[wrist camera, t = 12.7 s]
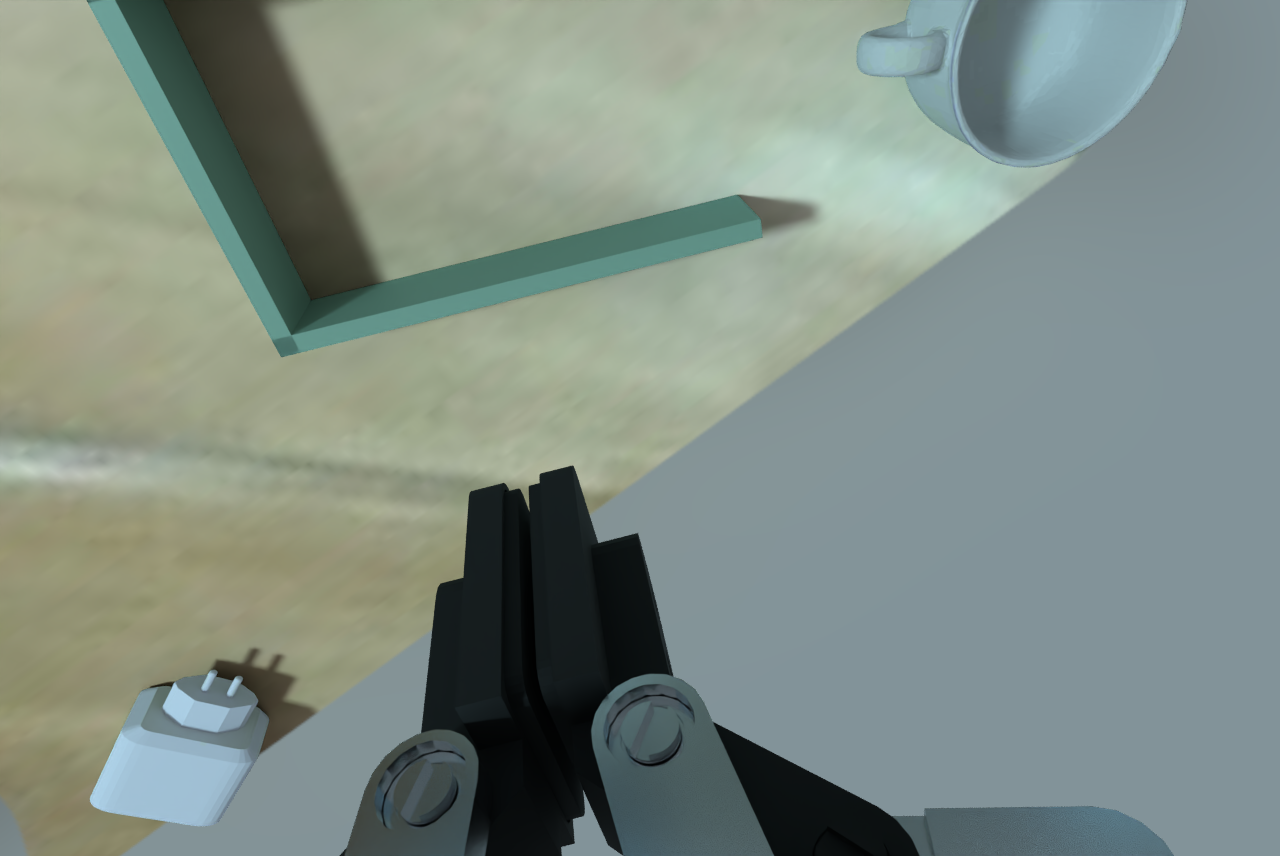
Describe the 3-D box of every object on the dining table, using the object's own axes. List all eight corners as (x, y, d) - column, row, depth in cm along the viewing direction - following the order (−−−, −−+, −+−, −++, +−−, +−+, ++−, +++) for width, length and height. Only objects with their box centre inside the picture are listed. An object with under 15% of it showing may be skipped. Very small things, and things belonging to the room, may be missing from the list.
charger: (300, 663, 56) (235, 773, 61) (169, 629, 52) (113, 750, 58) (285, 717, 52) (217, 829, 58) (142, 685, 48) (84, 809, 54)
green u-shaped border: (123, -29, 31) (71, -27, 28) (694, -165, 32) (719, -181, 28) (301, 320, 41) (281, 357, 37) (739, 211, 41) (762, 237, 38)
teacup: (1109, -87, 36) (1245, -96, 30) (1026, 142, 42) (1124, 178, 35) (849, -127, 34) (933, -146, 27) (798, 123, 39) (857, 157, 33)
